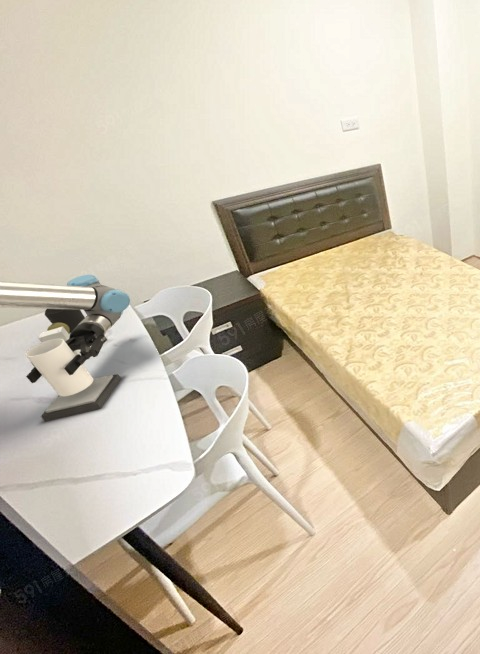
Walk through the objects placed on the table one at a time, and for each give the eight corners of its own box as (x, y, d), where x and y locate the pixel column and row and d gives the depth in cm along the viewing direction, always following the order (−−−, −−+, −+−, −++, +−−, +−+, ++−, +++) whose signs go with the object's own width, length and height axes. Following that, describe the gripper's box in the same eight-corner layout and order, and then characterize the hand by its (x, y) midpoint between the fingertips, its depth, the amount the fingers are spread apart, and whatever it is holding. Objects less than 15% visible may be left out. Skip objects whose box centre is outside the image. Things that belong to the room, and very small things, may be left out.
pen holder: (95, 320, 167) (81, 300, 162) (75, 333, 159) (61, 313, 154) (72, 321, 167) (58, 301, 162) (51, 335, 159) (36, 314, 154)
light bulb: (62, 351, 149) (46, 330, 144) (57, 346, 152) (41, 326, 147) (81, 342, 154) (66, 321, 149) (75, 338, 156) (60, 318, 151)
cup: (57, 400, 120) (23, 360, 111) (59, 386, 125) (26, 347, 117) (93, 386, 124) (63, 347, 116) (93, 373, 130) (64, 334, 121)
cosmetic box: (82, 351, 149) (63, 325, 143) (80, 357, 146) (61, 331, 140) (60, 358, 146) (40, 332, 140) (58, 364, 143) (37, 338, 137)
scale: (44, 422, 120) (38, 414, 118) (71, 390, 131) (65, 383, 130) (101, 409, 123) (95, 401, 122) (122, 378, 135) (117, 371, 133)
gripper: (132, 332, 139) (100, 375, 121) (58, 347, 134) (12, 394, 115) (121, 315, 136) (86, 356, 117) (45, 329, 130) (-5, 375, 111)
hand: (49, 375), depth 116 cm, fingers closed on cup, 8 cm apart
